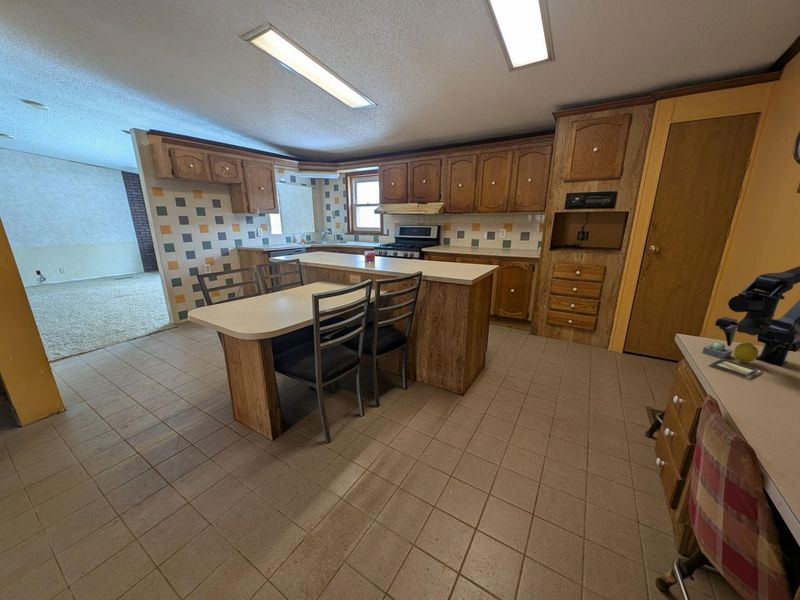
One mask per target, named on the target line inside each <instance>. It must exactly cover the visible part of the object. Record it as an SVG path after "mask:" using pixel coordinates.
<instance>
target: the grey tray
mask: <svg viewBox="0 0 800 600" xmlns="http://www.w3.org/2000/svg"><path fill="white" fill-rule="evenodd" d="M708 367H710V368H713V369H716V370H719V371H721V372H724V373H726V374H731V375H733V376H736V377H739V378H742V379H745V380H748V381H750V380H752V379H753V378H756V377H757V376H759V375H762V374H763V373H764V371H762V370H759V369H758V368H755V367H752V366H749V365H745V364H742V363H738V362H735V361H732V360H728V359H727V358H725V359H721V358H719V359H718V360H716V361H714V362H711V364H709V365H708Z"/></svg>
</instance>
